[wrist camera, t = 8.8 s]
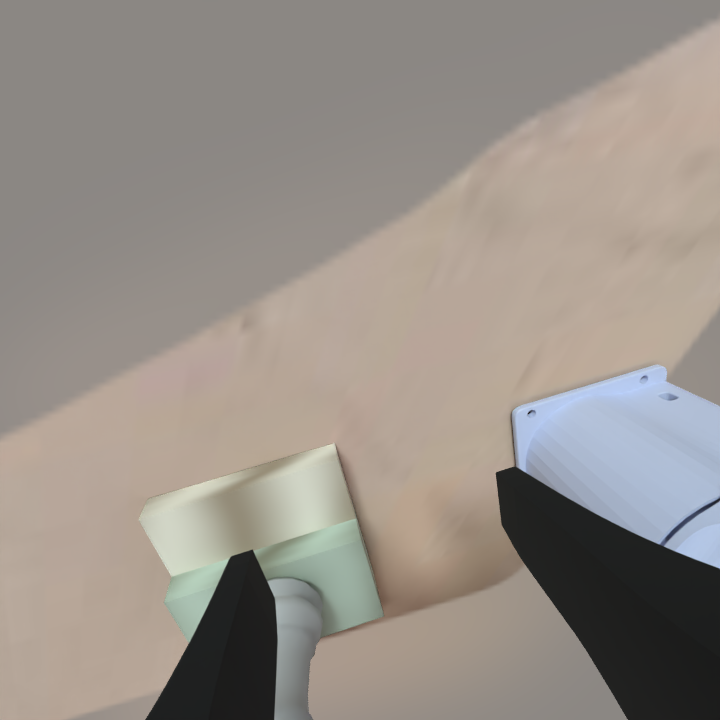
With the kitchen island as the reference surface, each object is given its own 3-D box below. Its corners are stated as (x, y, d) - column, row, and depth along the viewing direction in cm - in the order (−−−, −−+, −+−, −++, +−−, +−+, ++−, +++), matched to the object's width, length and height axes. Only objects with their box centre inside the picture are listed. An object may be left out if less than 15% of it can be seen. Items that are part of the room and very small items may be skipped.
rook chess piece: (324, 625, 22) (345, 833, 15) (240, 641, 22) (219, 868, 14) (319, 564, 21) (340, 764, 13) (228, 579, 20) (197, 800, 13)
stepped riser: (334, 443, 22) (342, 477, 19) (373, 571, 26) (384, 616, 23) (147, 499, 21) (127, 543, 18) (217, 623, 25) (209, 675, 22)
